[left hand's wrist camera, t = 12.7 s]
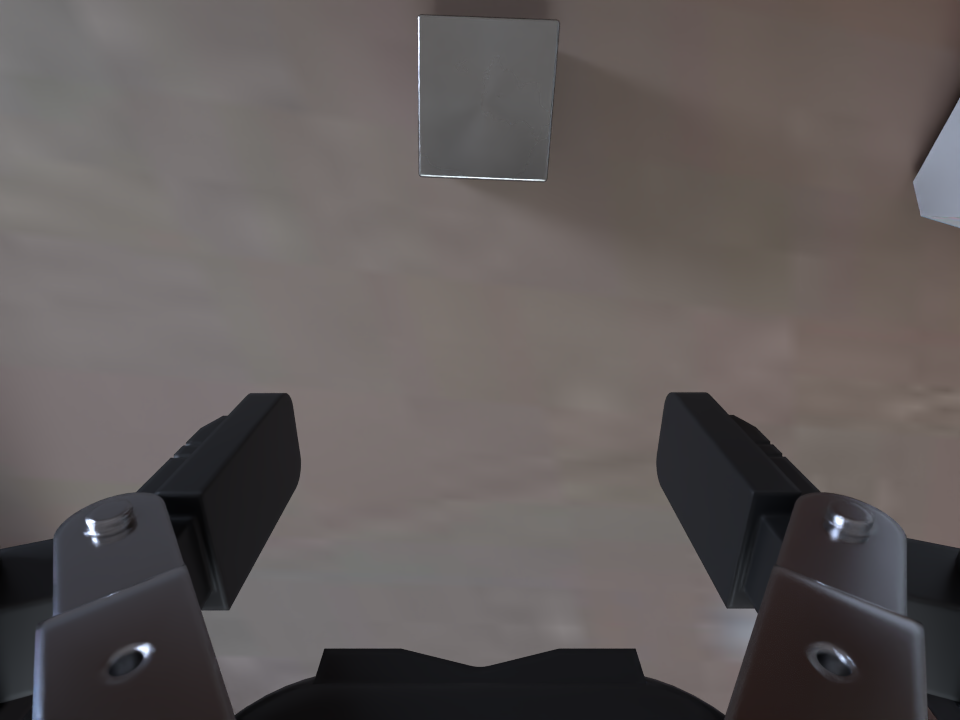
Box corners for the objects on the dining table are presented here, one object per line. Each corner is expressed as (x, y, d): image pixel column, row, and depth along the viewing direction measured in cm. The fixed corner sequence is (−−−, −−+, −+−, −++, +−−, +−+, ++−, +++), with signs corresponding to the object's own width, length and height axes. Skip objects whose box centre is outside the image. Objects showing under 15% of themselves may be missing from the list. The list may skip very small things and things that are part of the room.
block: (432, 171, 20) (418, 177, 17) (432, 40, 19) (417, 13, 15) (536, 175, 20) (547, 182, 17) (546, 45, 19) (560, 19, 15)
